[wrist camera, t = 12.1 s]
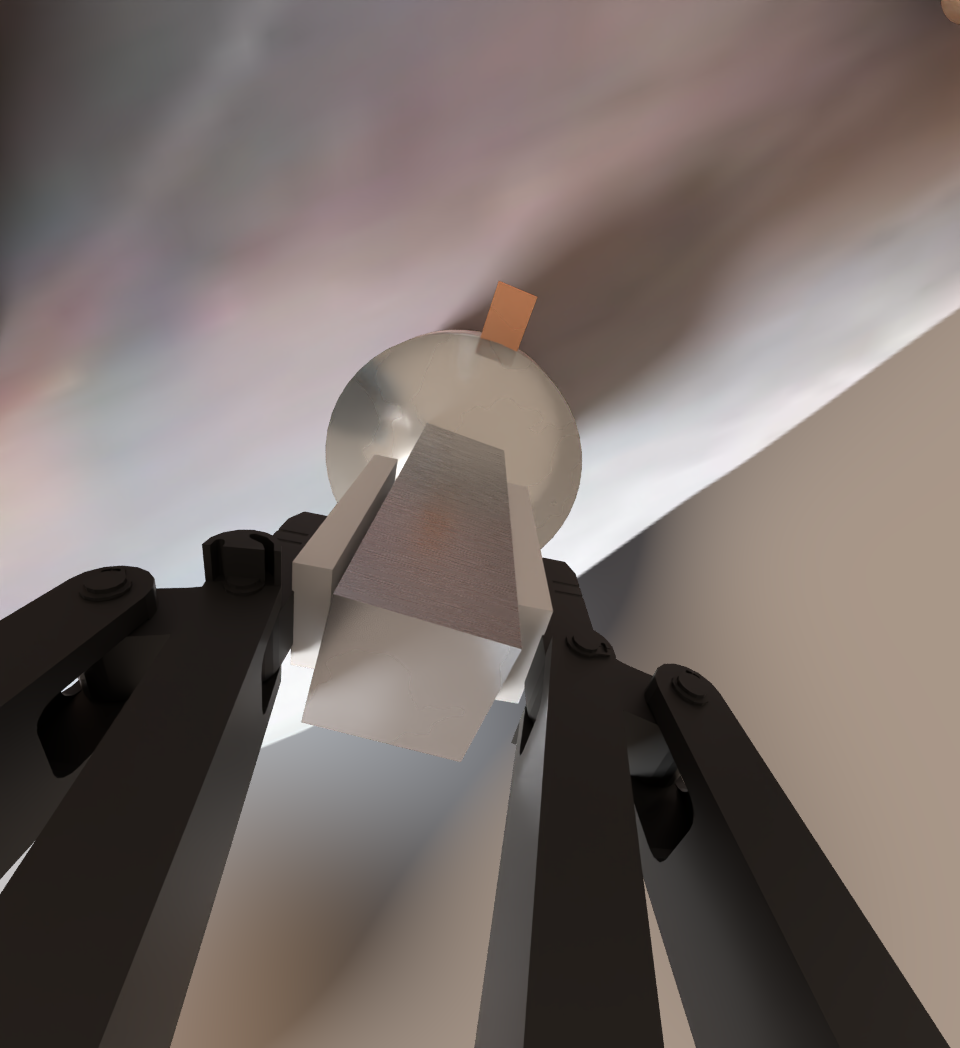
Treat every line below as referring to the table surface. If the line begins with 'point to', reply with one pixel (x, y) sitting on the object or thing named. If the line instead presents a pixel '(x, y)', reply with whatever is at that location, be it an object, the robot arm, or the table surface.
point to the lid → (440, 530)
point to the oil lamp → (951, 10)
